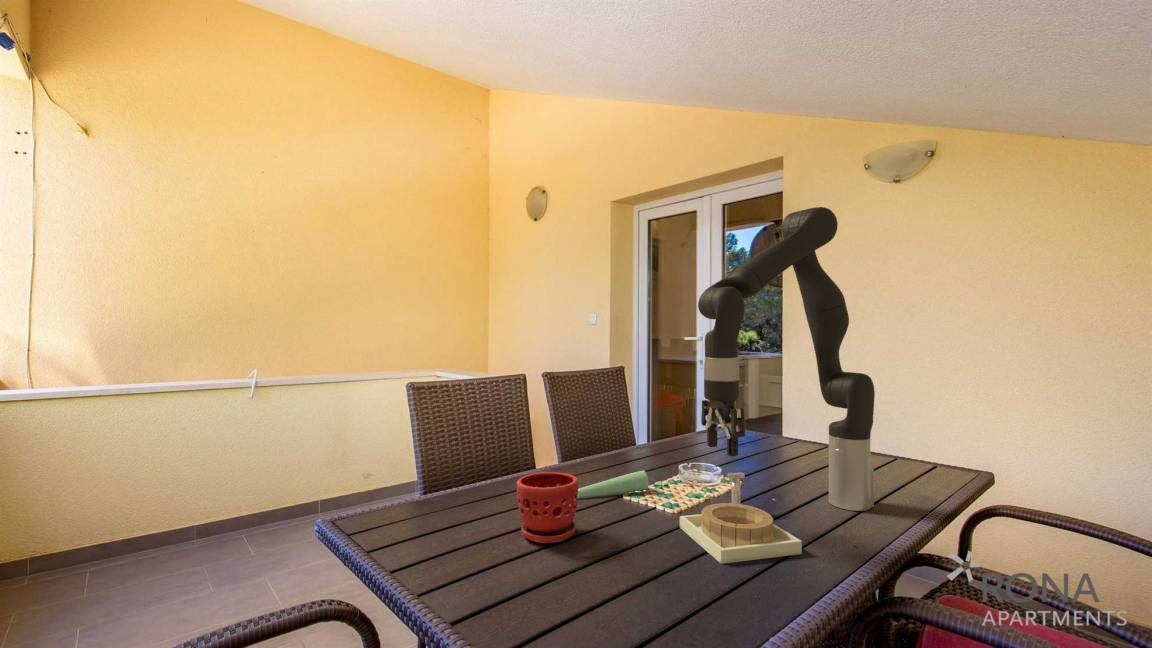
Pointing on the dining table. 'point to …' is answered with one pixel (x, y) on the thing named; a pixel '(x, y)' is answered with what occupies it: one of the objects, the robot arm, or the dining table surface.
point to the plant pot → (547, 506)
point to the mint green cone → (616, 486)
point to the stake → (735, 486)
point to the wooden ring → (737, 525)
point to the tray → (779, 547)
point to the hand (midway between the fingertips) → (722, 451)
